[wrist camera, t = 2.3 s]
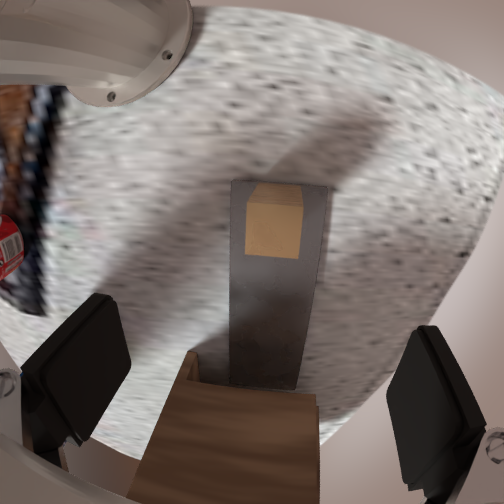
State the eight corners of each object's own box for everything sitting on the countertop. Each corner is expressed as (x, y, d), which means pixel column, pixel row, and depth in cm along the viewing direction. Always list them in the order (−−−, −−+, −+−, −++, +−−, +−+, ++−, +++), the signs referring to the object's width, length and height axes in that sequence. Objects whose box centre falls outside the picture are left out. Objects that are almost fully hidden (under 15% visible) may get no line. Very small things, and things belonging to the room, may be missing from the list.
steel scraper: (233, 178, 22) (210, 200, 16) (326, 186, 22) (340, 210, 15) (231, 377, 31) (218, 427, 24) (295, 383, 30) (293, 436, 24)
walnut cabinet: (187, 351, 29) (122, 505, 13) (323, 365, 28) (329, 537, 12) (198, 423, 35) (163, 538, 19) (303, 435, 34) (296, 556, 17)
